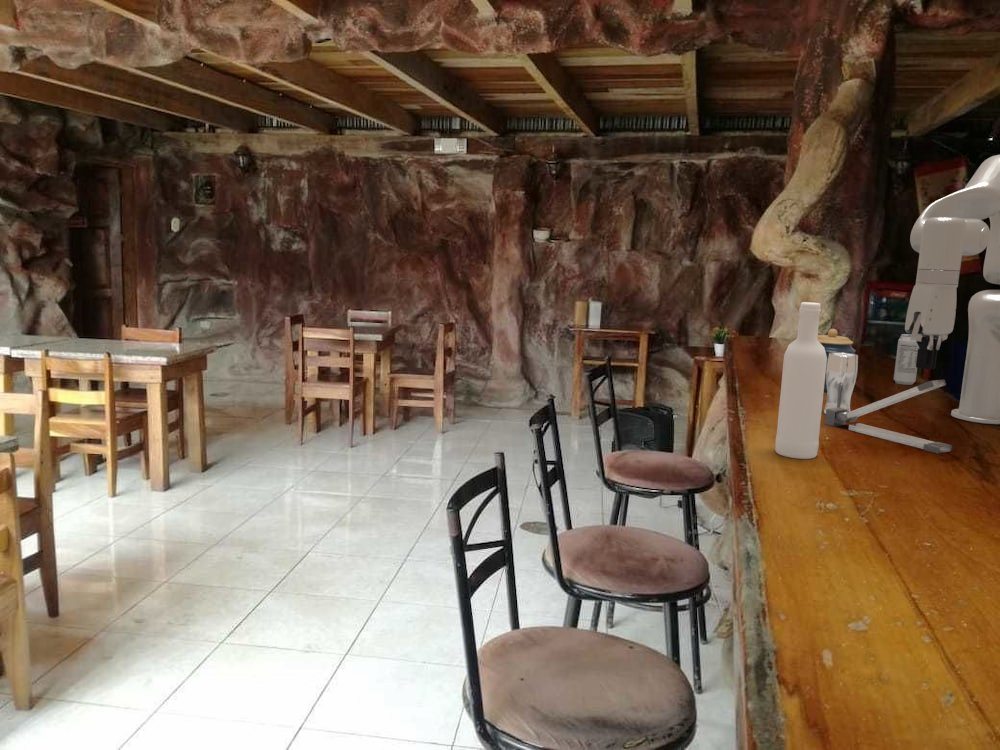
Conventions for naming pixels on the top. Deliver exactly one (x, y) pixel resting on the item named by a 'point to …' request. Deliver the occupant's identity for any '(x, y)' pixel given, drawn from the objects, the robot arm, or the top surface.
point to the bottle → (802, 389)
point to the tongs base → (887, 433)
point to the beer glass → (840, 379)
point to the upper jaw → (889, 401)
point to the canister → (835, 345)
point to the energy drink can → (906, 360)
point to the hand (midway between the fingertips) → (925, 368)
